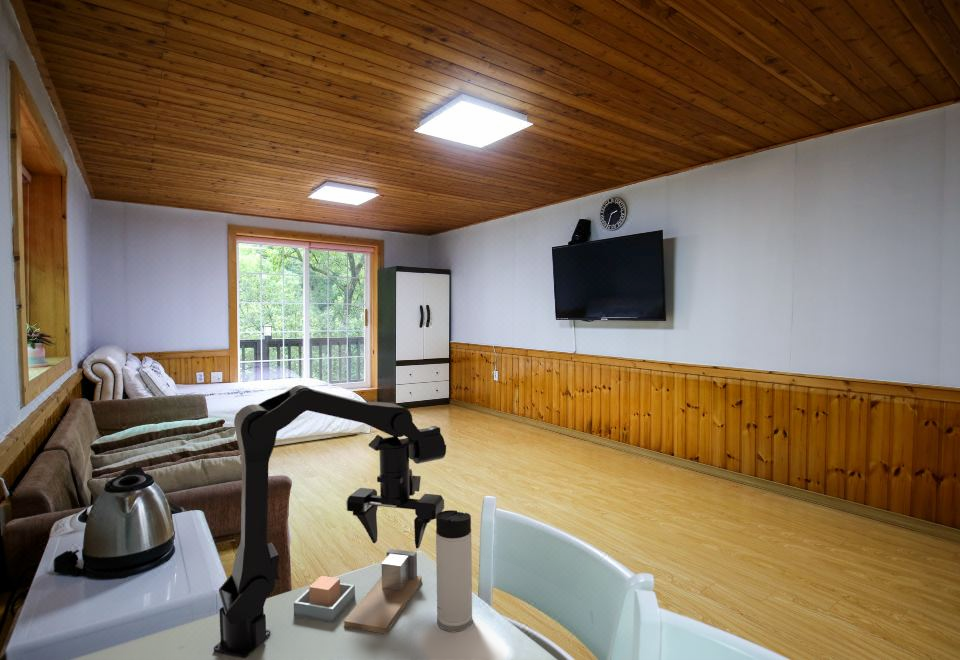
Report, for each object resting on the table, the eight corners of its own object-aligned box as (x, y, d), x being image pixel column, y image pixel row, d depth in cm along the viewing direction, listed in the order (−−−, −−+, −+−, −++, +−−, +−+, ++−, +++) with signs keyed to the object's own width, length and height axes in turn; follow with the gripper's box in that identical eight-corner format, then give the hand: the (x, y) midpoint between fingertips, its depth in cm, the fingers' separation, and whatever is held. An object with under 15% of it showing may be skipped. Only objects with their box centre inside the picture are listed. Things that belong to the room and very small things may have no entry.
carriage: (381, 588, 100) (381, 563, 100) (390, 577, 104) (390, 553, 104) (400, 590, 99) (400, 565, 99) (408, 579, 103) (408, 555, 103)
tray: (294, 615, 93) (293, 602, 93) (318, 591, 101) (318, 579, 101) (333, 622, 91) (332, 609, 91) (355, 597, 99) (354, 584, 99)
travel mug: (429, 627, 90) (427, 516, 89) (448, 607, 96) (447, 502, 95) (460, 637, 87) (458, 523, 86) (478, 616, 93) (477, 509, 92)
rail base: (344, 626, 90) (343, 593, 90) (385, 576, 107) (385, 548, 106) (385, 633, 88) (385, 600, 88) (421, 581, 105) (421, 552, 104)
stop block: (309, 607, 95) (309, 586, 95) (321, 595, 99) (321, 575, 98) (328, 611, 94) (328, 590, 94) (340, 598, 98) (339, 578, 97)
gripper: (452, 458, 106) (453, 532, 107) (370, 452, 111) (371, 523, 112) (433, 476, 95) (435, 558, 96) (344, 469, 100) (346, 547, 101)
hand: (396, 544), depth 102 cm, fingers open, 9 cm apart
